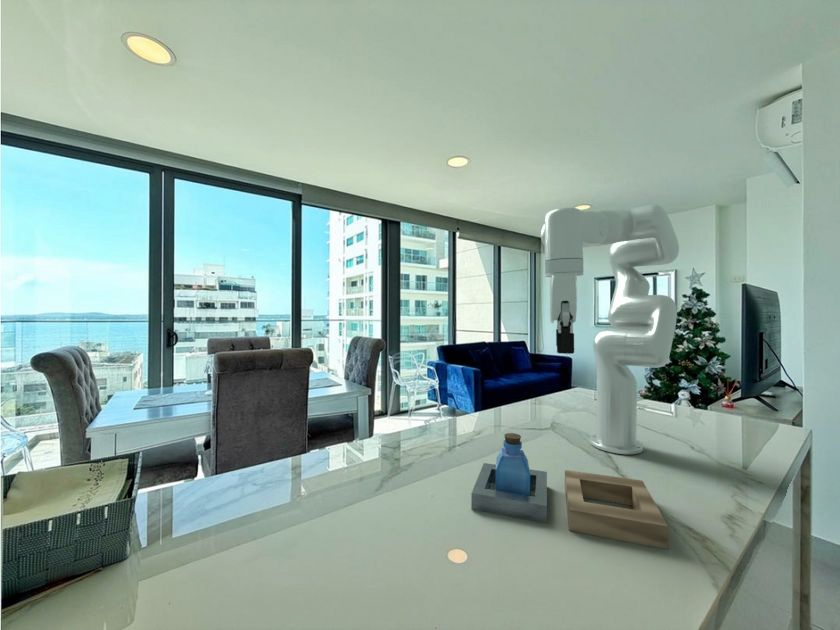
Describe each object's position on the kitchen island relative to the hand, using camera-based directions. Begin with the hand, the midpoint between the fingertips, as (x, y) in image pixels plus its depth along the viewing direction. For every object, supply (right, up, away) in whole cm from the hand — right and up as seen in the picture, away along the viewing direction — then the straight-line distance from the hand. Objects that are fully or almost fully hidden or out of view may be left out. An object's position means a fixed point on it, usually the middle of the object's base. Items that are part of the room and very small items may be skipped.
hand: (564, 349), depth 78 cm
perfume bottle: (-13, -28, -7) cm, 32 cm away
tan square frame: (+3, -28, -12) cm, 31 cm away
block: (-13, -28, -7) cm, 32 cm away
